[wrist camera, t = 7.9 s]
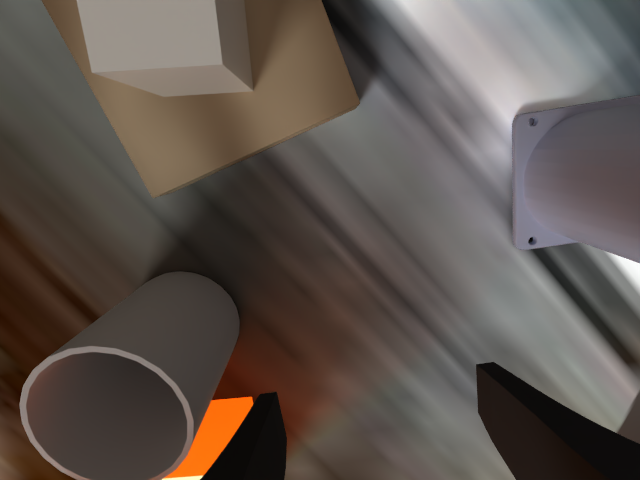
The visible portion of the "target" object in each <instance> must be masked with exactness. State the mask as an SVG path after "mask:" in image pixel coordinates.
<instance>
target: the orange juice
mask: <svg viewBox="0 0 640 480" xmlns="http://www.w3.org/2000/svg"><path fill="white" fill-rule="evenodd" d="M252 406H253V400H252V397H245V398H233V399H221V400H211V402H210V405H209V407H208V409H207V412H206V414H205V416H204V418H203V421H202V423H201V425H200V428H199V430H198V432H197V434H196V437H195V439H194V441H193V444H192V446H191V448H190V451H189V453H188V455H187V457H186V458H185V459H184V460H183V462H182V463H181V464H180V465H179V467H178V468H177V469H176V470H175V471H174V472H172V473H171V474H169V475H168V476H166V477H165V478H163V479H162V480H200V479H201V478H202V477H203V475H204V474H205V473H206V472H207V470H208V469H209V468H210V467H211V465H212V464H213V463H214V461H215V460H216V459H217V457H218V456H219V455H220V453H221V452H222V451H223V449H224V448H225V447H226V445H227V444H228V442H229V441H230V440H231V438H232V437H233V435H234V434H235V432H236V431H237V429H238V428H239V426H240V425H241V423H242V422H243V420H244V418H245V417H246V415H247V414H248V412H249V411H250V409H251V407H252Z"/></svg>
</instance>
